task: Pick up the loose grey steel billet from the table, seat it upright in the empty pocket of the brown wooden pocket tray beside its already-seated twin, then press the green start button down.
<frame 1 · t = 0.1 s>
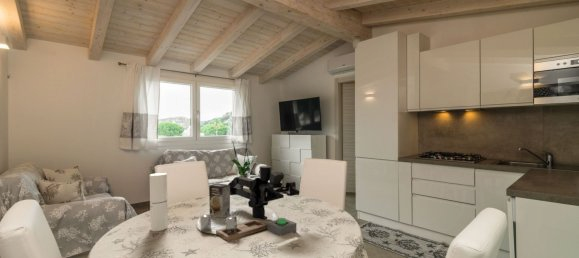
hand: (291, 194, 116), 17 cm above the table, tool horizontal, fingers open, 9 cm apart
billet seated: (231, 234, 113), point 1 cm above the table, touching brown wooden pocket tray
start button: (281, 221, 117), point 4 cm above the table, slide at 0.0 cm
coffee box: (219, 215, 141), on the table
button housing: (281, 232, 117), on the table
billet loose: (205, 231, 119), on the table
cylindrical container: (159, 228, 124), on the table
brown wooden pocket tray: (242, 233, 116), on the table
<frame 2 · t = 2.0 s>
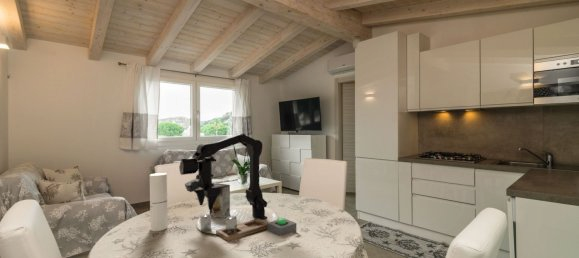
hand: (205, 207, 118), 11 cm above the table, tool pointing down, fingers open, 9 cm apart
nothing on the table moved.
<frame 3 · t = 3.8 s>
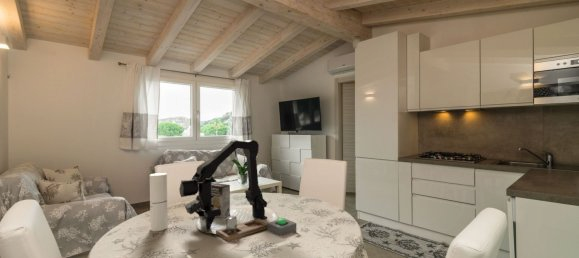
hand: (205, 228, 119), 2 cm above the table, tool pointing down, fingers closed on billet loose, 4 cm apart
billet loose: (205, 231, 119), on the table, touching gripper
everything else where it was.
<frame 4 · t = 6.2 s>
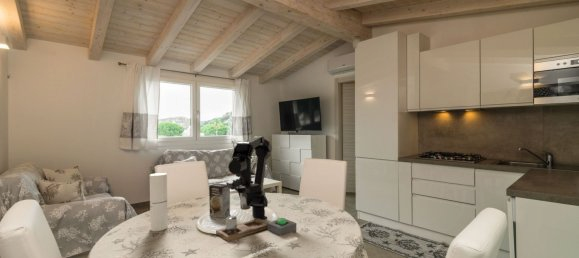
hand: (245, 204, 120), 11 cm above the table, tool pointing down, fingers closed on billet loose, 4 cm apart
billet loose: (245, 208, 120), point 10 cm above the table, touching gripper
everything else where it was.
when the fingers open (4 cm above the table, at t = 8.7 s): billet loose drops 1 cm, resting on brown wooden pocket tray.
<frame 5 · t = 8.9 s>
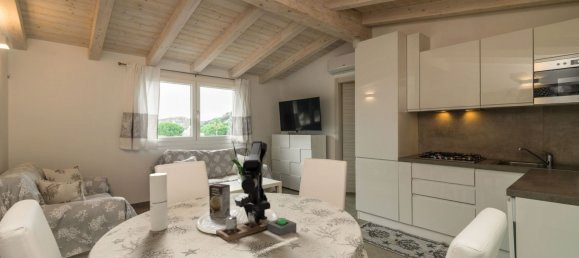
hand: (253, 221, 120), 4 cm above the table, tool pointing down, fingers open, 6 cm apart
billet loose: (253, 227, 120), point 1 cm above the table, touching brown wooden pocket tray
everything else where it was.
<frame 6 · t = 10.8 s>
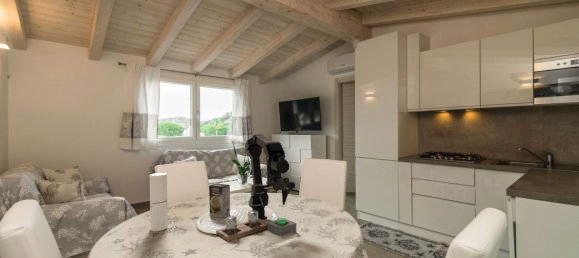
hand: (274, 206, 117), 11 cm above the table, tool pointing down, fingers open, 9 cm apart
nothing on the table moved.
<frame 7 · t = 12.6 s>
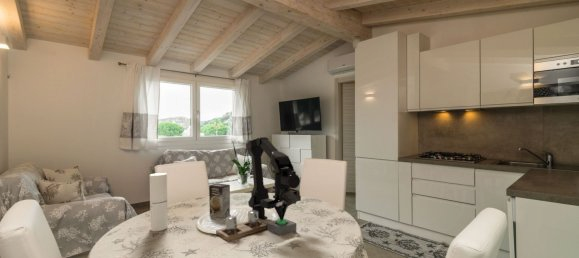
hand: (281, 219, 117), 5 cm above the table, tool pointing down, fingers closed, pressing on start button
start button: (281, 222, 117), point 4 cm above the table, slide at 0.1 cm, touching gripper
everything else where it was.
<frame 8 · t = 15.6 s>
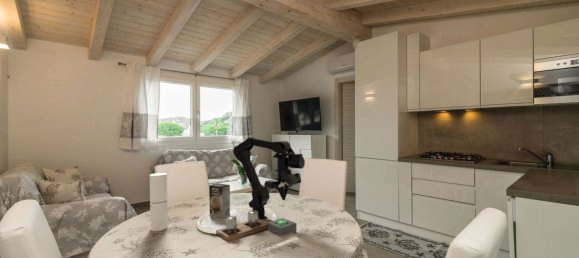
hand: (283, 199, 128), 11 cm above the table, tool pointing down, fingers closed
start button: (281, 224, 117), point 3 cm above the table, slide at 1.1 cm
everything else where it was.
at the end: billet loose 0.0 cm from the target spot on the brown wooden pocket tray, point 1.0 cm above the brown wooden pocket tray's base; billet loose tilted 1°; start button slide at 1.1 cm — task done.
